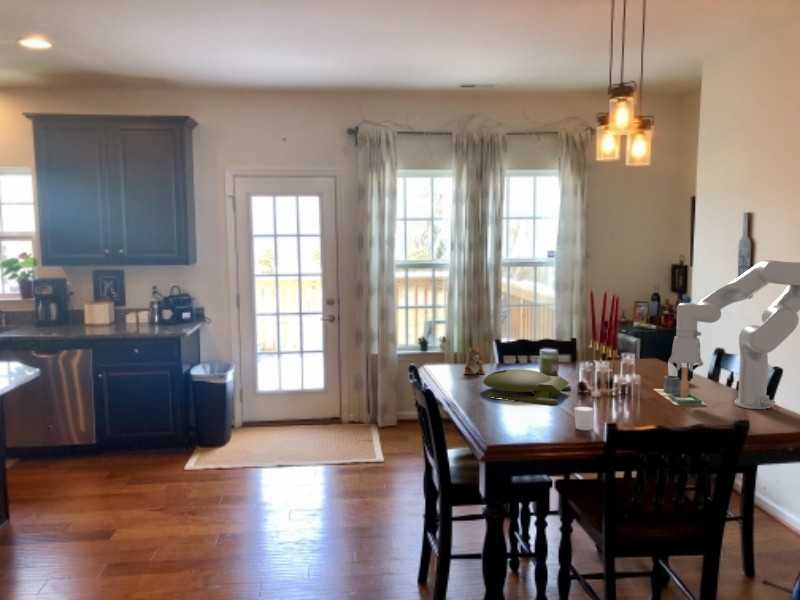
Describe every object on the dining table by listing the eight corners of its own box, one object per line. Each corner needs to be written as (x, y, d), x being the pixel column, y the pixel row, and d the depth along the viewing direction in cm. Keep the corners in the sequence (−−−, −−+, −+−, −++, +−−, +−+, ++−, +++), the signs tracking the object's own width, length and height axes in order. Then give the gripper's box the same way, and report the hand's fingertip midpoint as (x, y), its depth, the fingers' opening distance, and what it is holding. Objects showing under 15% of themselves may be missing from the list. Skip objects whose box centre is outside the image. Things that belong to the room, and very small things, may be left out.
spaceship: (572, 390, 280) (572, 368, 279) (556, 407, 253) (556, 382, 252) (496, 382, 296) (496, 362, 295) (473, 398, 269) (473, 375, 268)
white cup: (683, 381, 291) (683, 360, 290) (689, 385, 283) (689, 363, 282) (665, 381, 292) (665, 360, 291) (670, 385, 284) (671, 363, 283)
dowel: (689, 397, 254) (690, 367, 252) (684, 398, 252) (685, 368, 251) (683, 395, 256) (684, 366, 255) (678, 396, 255) (679, 367, 254)
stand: (706, 407, 248) (707, 388, 247) (675, 407, 248) (675, 388, 248) (681, 391, 273) (681, 374, 273) (652, 391, 274) (653, 374, 273)
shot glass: (575, 430, 221) (575, 410, 220) (572, 424, 228) (573, 405, 227) (595, 431, 220) (595, 411, 219) (592, 425, 227) (593, 406, 226)
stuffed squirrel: (465, 376, 310) (465, 349, 308) (463, 370, 324) (462, 344, 322) (485, 375, 309) (485, 349, 308) (482, 369, 324) (482, 344, 322)
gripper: (710, 334, 250) (708, 380, 252) (666, 331, 259) (665, 375, 261) (707, 337, 244) (705, 384, 246) (662, 333, 253) (661, 379, 255)
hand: (684, 379), depth 254 cm, fingers closed on dowel, 2 cm apart
